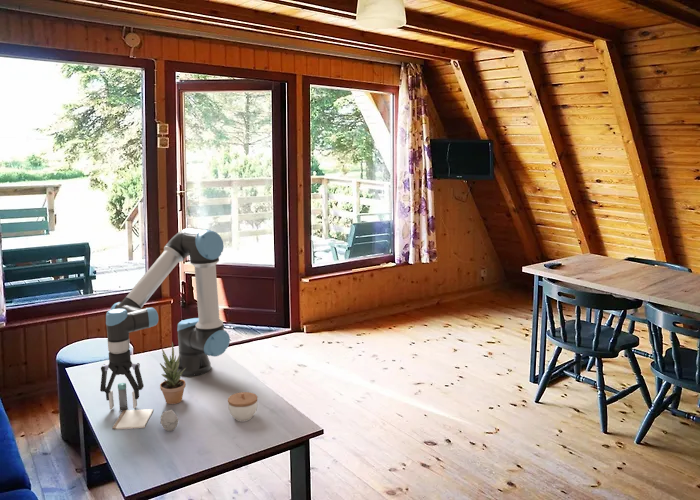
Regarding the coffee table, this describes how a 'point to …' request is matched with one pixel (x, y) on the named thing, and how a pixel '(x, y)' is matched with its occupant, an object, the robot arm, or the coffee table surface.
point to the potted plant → (172, 380)
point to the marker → (122, 396)
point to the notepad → (133, 419)
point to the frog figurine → (169, 420)
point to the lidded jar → (242, 405)
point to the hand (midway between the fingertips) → (123, 407)
